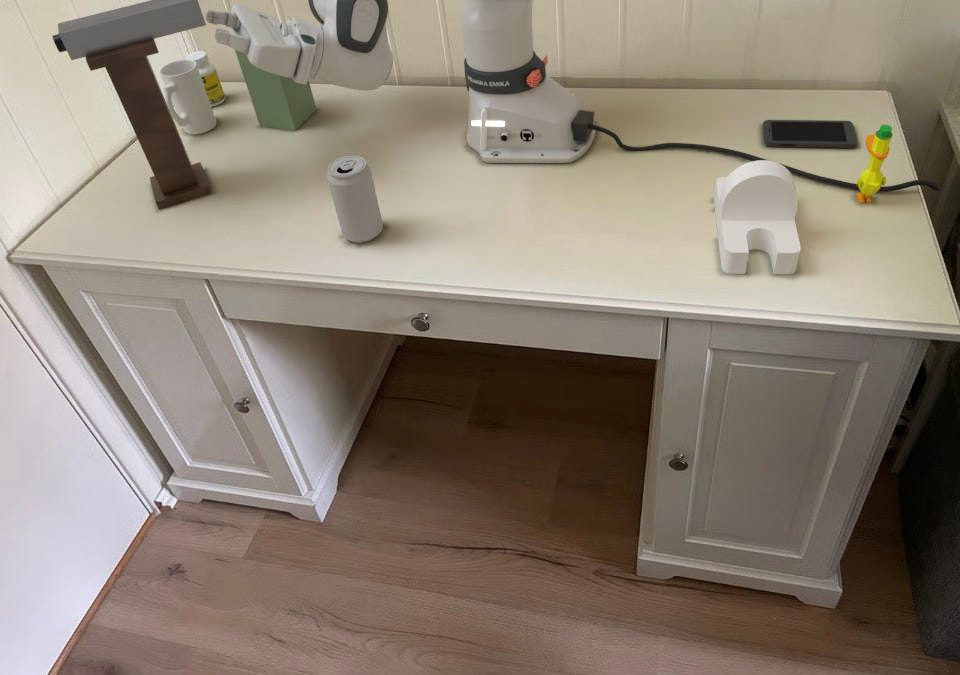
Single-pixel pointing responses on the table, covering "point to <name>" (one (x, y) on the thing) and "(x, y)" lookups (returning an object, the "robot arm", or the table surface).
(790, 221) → the white notched rounded piece
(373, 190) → the beverage can
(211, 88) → the supplement bottle
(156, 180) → the stand
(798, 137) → the cell phone
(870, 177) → the toy figure
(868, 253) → the table surface
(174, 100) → the mug
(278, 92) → the block
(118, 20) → the gray rectangular bar
